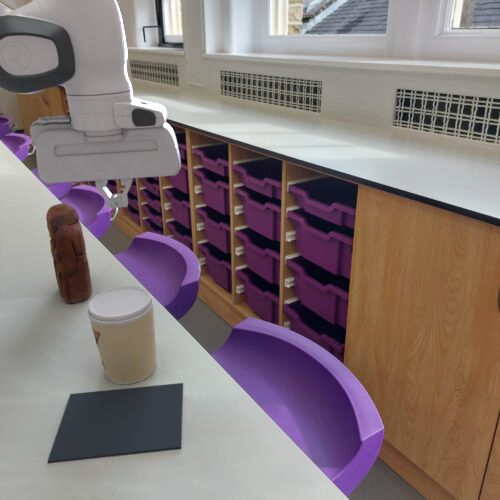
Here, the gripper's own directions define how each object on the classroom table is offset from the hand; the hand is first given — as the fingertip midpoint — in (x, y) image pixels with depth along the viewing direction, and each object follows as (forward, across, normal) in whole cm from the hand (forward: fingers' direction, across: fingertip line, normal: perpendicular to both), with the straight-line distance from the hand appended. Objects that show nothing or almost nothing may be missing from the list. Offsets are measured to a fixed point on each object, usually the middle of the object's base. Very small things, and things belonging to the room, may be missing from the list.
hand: (118, 206), depth 74 cm
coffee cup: (+23, 0, -10) cm, 25 cm away
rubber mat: (+23, 0, -20) cm, 31 cm away
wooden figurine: (+23, -14, +18) cm, 32 cm away
